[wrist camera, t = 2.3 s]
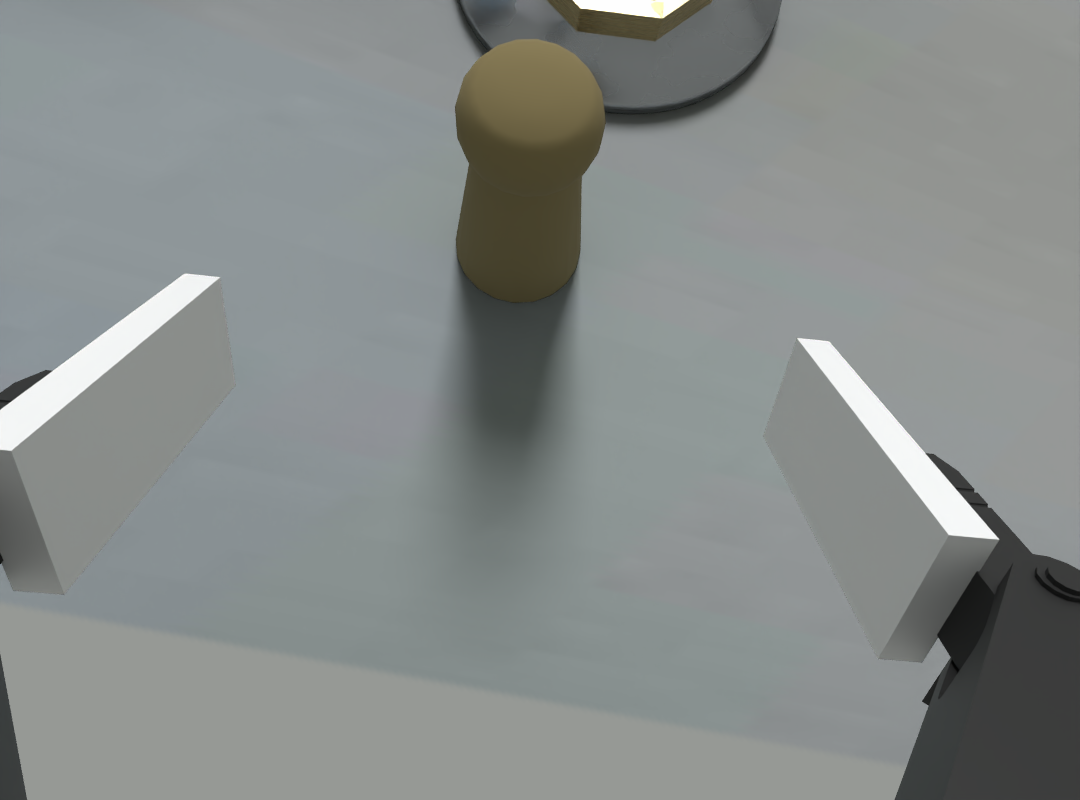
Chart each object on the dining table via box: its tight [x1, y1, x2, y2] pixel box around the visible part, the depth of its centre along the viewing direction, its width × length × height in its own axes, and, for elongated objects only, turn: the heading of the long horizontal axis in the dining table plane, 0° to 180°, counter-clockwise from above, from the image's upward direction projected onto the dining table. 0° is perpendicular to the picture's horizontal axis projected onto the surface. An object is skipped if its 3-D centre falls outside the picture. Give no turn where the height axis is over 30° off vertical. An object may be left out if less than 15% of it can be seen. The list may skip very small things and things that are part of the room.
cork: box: [455, 39, 606, 303], centre depth 26 cm, size 6×6×11 cm
